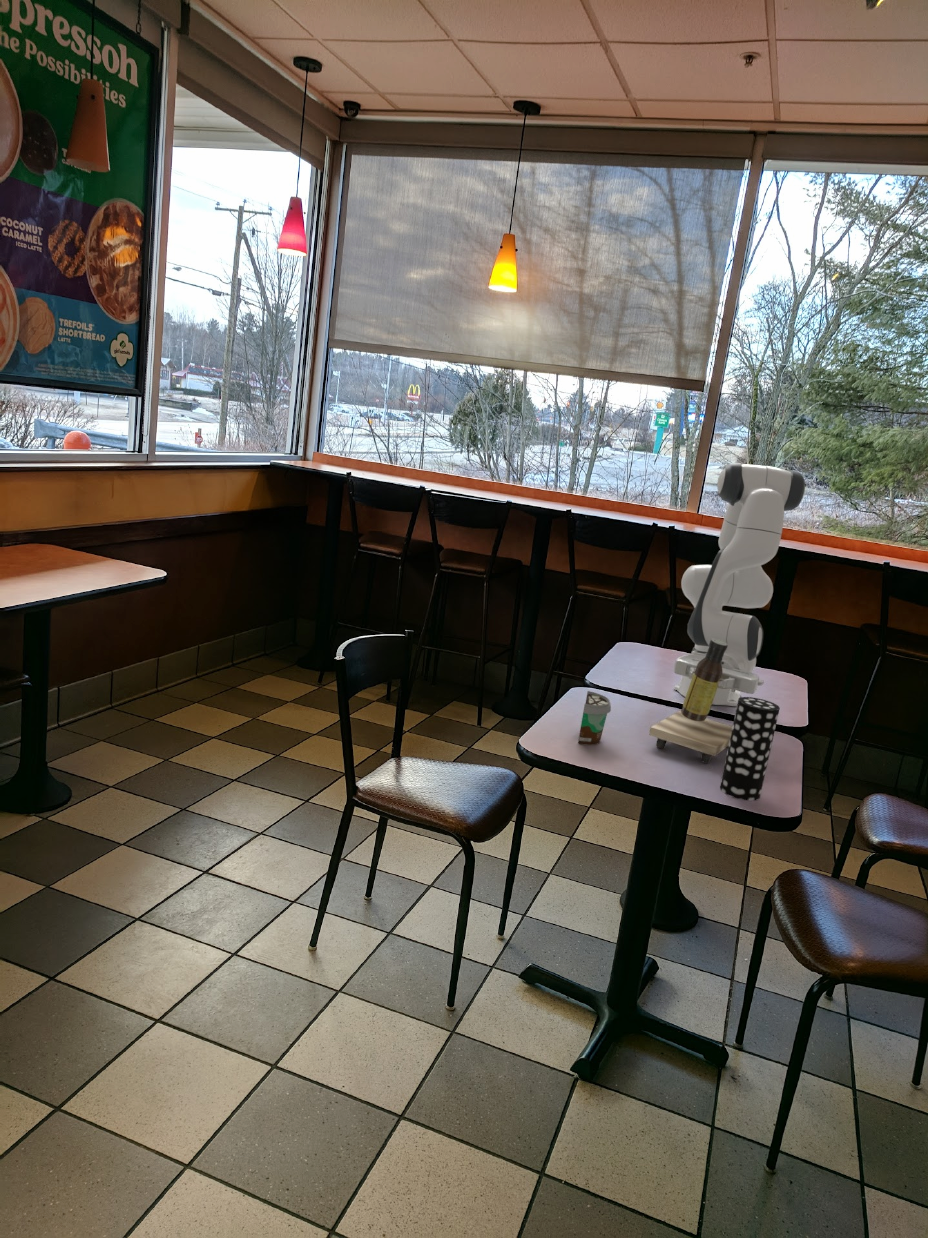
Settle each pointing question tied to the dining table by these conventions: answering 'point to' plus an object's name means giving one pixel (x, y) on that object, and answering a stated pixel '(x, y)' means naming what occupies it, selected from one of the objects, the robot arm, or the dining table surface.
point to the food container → (593, 718)
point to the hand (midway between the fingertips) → (706, 680)
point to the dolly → (693, 734)
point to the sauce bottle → (704, 682)
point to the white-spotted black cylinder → (749, 748)
